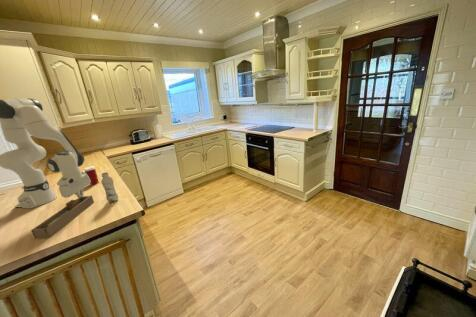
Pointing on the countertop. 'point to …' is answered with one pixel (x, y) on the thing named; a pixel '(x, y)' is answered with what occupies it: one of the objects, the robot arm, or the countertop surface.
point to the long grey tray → (61, 219)
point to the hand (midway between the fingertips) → (80, 196)
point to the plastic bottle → (109, 187)
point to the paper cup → (92, 174)
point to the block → (72, 204)
